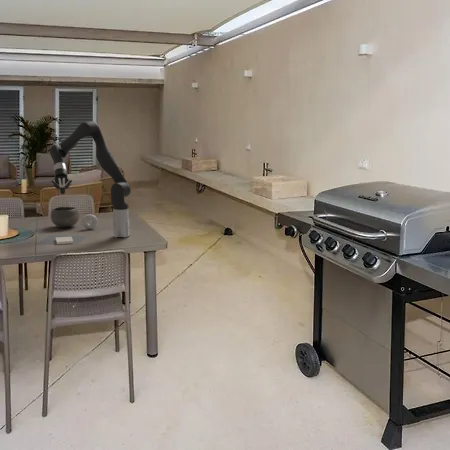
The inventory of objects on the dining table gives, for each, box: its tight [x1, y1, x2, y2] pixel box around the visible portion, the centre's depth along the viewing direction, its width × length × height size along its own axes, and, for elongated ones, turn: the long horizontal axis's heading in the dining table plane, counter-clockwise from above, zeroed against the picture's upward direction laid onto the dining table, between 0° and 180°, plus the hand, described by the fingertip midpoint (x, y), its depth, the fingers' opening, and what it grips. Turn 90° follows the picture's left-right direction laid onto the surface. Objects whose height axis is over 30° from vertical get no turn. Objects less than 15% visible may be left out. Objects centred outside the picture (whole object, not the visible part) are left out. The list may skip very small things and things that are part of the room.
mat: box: [36, 234, 89, 246], centre depth 314 cm, size 24×24×1 cm
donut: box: [81, 213, 99, 230], centre depth 345 cm, size 10×4×10 cm, turn 103°
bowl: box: [50, 206, 80, 229], centre depth 352 cm, size 18×18×13 cm
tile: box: [56, 237, 73, 246], centre depth 308 cm, size 2×9×12 cm
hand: (62, 193), depth 324 cm, fingers closed
